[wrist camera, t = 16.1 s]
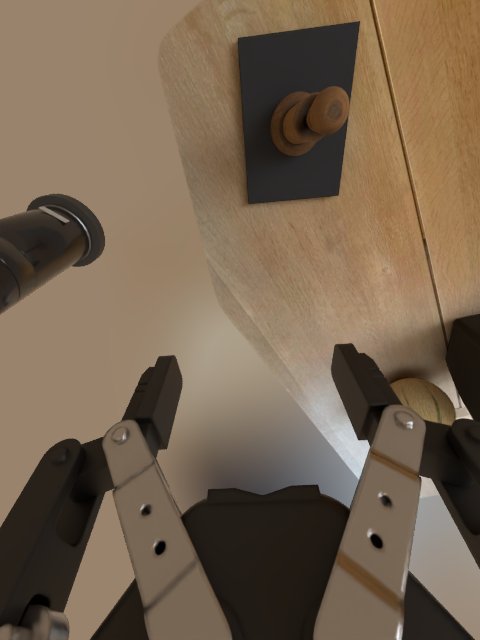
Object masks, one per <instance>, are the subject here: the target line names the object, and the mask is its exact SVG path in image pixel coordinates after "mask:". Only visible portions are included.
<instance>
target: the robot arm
mask: <svg viewBox="0 0 480 640" xmlns="http://www.w3.org/2000/svg"><path fill="white" fill-rule="evenodd" d="M91 249H92V236H91V233H90V231H89V229H88V227H87V225H86V224H85V223H84V221H83V220H82V219H81V218H80V217H79V216H78V215H77V214H75V213H74V212H73V211H71V210H69V209H68V208H65V207H63V206H60V205H53V204H50V205H45V206H41V207H39V208H37V209H34V210H30V211H27V212H23V213H20V214H16V215H13V216H9V217H6V218H3V219H0V314H2V313H4V312H5V311H7V310H8V309H9V308H11V307H12V306H14V305H15V304H17V303H18V302H20V301H21V300H23V299H24V298H26V297H27V296H29V295H30V294H31V293H33V292H34V291H35V290H37V289H39V288H40V287H41V286H43V285H44V284H46V283H47V282H49V281H50V280H52V279H53V278H54V277H56V276H57V275H59V274H60V273H62V272H63V271H65V270H66V269H68V268H69V267H71V266H72V265H74V264H75V263H77V262H78V261H80V260H82V259H84V258H85V257H86V256H88V254H89V253H90V252H91ZM331 373H332V378H333V380H334V383H335V385H336V388H337V390H338V393H339V395H340V397H341V400H342V402H343V405H344V407H345V409H346V412H347V414H348V417H349V419H350V421H351V424H352V426H353V429H354V431H355V433H356V436H357V438H358V440H368V442H369V445H370V449H369V452H368V455H367V458H366V461H365V464H364V467H363V470H362V473H361V476H360V479H359V482H358V485H357V488H356V491H355V494H354V497H353V500H352V503H351V505H350V508H348V507H347V506H345V505H344V504H342V503H341V502H339V501H338V500H336V499H334V498H332V497H330V496H327V495H324V494H321V493H320V491H319V487H318V485H300V486H299V485H298V486H289V487H286V488H283V489H281V490H277V491H275V492H272V493H269V494H266V495H259V494H255V493H251V492H247V491H244V490H240V489H236V488H229V489H209V490H208V497H207V498H206V499H203V500H201V501H200V502H197V503H196V504H194V505H193V506H191V507H190V508H189V509H188V510H187V511H186V512H185V513H184V514H182V512H181V510H180V507H179V505H178V504H177V502H176V499H175V498H174V495H173V493H172V491H171V489H170V487H169V485H168V483H167V481H166V479H165V476H164V474H163V472H162V470H161V468H160V466H159V464H158V462H157V459H156V457H157V453H158V450H161V449H167V447H168V442H169V438H170V434H171V430H172V426H173V422H174V418H175V414H176V410H177V406H178V402H179V398H180V394H181V390H182V375H181V372H180V369H179V366H178V362H177V359H176V357H175V356H174V355H171V356H159V357H158V359H157V362H156V364H155V367H149V368H148V369H147V370H146V371H145V372H144V373H143V374H142V376H141V378H140V381H139V382H138V386H137V387H136V389H135V393H134V394H133V396H132V398H131V400H130V403H129V405H128V407H127V409H126V412H125V414H124V416H123V418H122V420H121V422H118V423H116V424H115V425H114V426H112V427H111V428H110V429H109V430H108V431H107V433H106V434H105V436H104V437H101V438H99V439H96V440H93V441H90V442H87V443H84V444H80V442H79V441H78V440H76V439H66V440H63V441H61V442H59V443H57V444H55V445H54V446H53V447H51V448H50V449H49V450H48V451H47V452H46V454H44V456H43V457H42V459H41V461H40V462H39V464H38V466H37V467H36V469H35V471H34V473H33V474H32V476H31V477H30V479H29V481H28V483H27V484H26V486H25V487H24V489H23V491H22V492H21V494H20V496H19V498H18V499H17V501H16V502H15V504H14V506H13V507H12V509H11V511H10V512H9V514H8V516H7V518H6V519H5V521H4V522H3V524H2V526H1V527H0V640H68V638H69V622H68V619H67V617H66V616H65V614H63V612H64V609H65V606H66V604H67V601H68V598H69V595H70V592H71V589H72V586H73V583H74V581H75V578H76V574H77V572H78V569H79V566H80V563H81V561H82V558H83V555H84V552H85V549H86V546H87V543H88V540H89V538H90V535H91V532H92V529H93V526H94V523H95V520H96V517H97V514H98V511H99V509H100V506H101V503H102V500H103V497H104V494H105V492H107V491H109V490H112V489H114V488H115V489H114V490H113V498H114V502H115V506H116V509H117V513H118V516H119V520H120V524H121V527H122V531H123V534H124V538H125V542H126V545H127V549H128V552H129V556H130V559H131V563H132V567H133V570H134V574H135V577H136V578H135V579H134V580H133V582H132V583H131V584H130V586H129V587H128V588H127V590H126V591H125V593H124V594H123V595H122V597H121V598H120V599H119V601H118V602H117V603H116V605H115V606H114V608H113V609H112V610H111V612H110V613H109V614H108V616H107V617H106V618H105V620H104V621H103V623H102V624H101V625H100V627H99V628H98V629H97V631H96V632H95V633H94V635H93V636H92V637H91V639H90V640H475V639H474V638H473V637H472V636H471V635H470V634H469V633H468V632H467V631H466V630H465V629H464V628H463V627H462V626H461V624H460V623H459V622H458V621H457V620H455V618H454V617H453V616H452V615H451V614H450V613H449V612H448V611H447V610H446V609H445V608H444V607H443V606H442V605H441V604H440V603H439V602H438V600H436V598H435V597H434V596H433V595H432V594H431V593H430V592H429V591H428V590H427V589H426V588H425V587H424V586H423V585H422V584H421V583H420V582H419V581H418V579H417V578H416V577H415V576H414V575H413V574H412V573H411V572H410V571H409V570H408V569H409V563H410V555H411V549H412V543H413V536H414V530H415V523H416V517H417V510H418V503H419V497H420V490H421V477H419V475H420V476H423V477H427V478H431V479H432V481H433V483H434V484H435V486H436V488H437V490H438V492H439V494H440V496H441V497H442V499H443V501H444V503H445V505H446V507H447V509H448V511H449V512H450V514H451V516H452V518H453V520H454V522H455V524H456V525H457V527H458V529H459V531H460V533H461V535H462V537H463V539H464V540H465V542H466V544H467V546H468V548H469V550H470V552H471V554H472V555H473V557H474V559H475V561H476V563H477V565H478V567H479V569H480V422H478V421H475V420H472V419H467V418H460V419H457V420H455V421H454V422H453V423H452V425H446V424H441V423H437V422H432V421H428V420H424V419H422V417H421V416H420V415H419V414H418V413H417V412H415V411H414V410H412V409H410V408H408V407H406V406H403V404H402V403H401V401H400V400H399V398H398V397H397V395H396V394H395V392H394V391H393V389H392V387H391V386H390V384H389V383H388V381H387V380H386V378H384V375H383V374H382V372H381V371H380V370H379V368H378V366H377V365H376V363H375V361H374V360H373V359H371V358H370V357H369V356H368V355H366V354H365V353H358V352H357V350H356V348H355V347H354V345H353V344H352V343H349V344H336V345H335V347H334V353H333V359H332V365H331Z"/></svg>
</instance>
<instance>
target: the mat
mask: <svg viewBox="0 0 480 640" xmlns="http://www.w3.org/2000/svg"><path fill="white" fill-rule="evenodd" d="M359 25H360V21H359V22H352V23H344V24H337V25H330V26H323V27H315V28H308V29H301V30H293V31H286V32H279V33H271V34H264V35H257V36H249V37H242V38H238V47H239V63H240V78H241V94H242V109H243V125H244V140H245V156H246V171H247V187H248V202H249V204H254V203H264V202H275V201H285V200H296V199H306V198H317V197H327V196H338V195H339V187H340V179H341V171H342V163H343V155H344V147H345V139H346V131H347V123H348V117H347V119H346V121H345V123H344V124H343V126H342V127H341V128H340V129H339V130H338V131H336V132H335V133H333V134H330V135H325V136H324V137H323V138H322V139H320V140H318V141H317V142H316V143H315V145H314V146H313V147H312V148H311V149H310V150H309V151H308V152H306V153H304V154H302V155H298V156H289V155H286V154H284V153H282V152H280V151H279V150H278V149H277V147H276V146H275V144H274V142H273V140H272V137H271V120H272V116H273V113H274V111H275V109H276V107H277V106H278V104H279V103H280V102H281V101H282V100H283V99H284V98H285V97H286V96H288V95H289V94H291V93H294V92H299V91H302V92H307V93H309V94H312V93H316V92H318V93H320V92H321V91H322V90H324V89H326V88H328V87H331V86H337V87H340V88H342V89H343V90H344V91H345V92H346V93H347V95H348V98H349V104H350V98H351V90H352V82H353V74H354V66H355V58H356V49H357V41H358V33H359ZM348 114H349V113H348Z"/></svg>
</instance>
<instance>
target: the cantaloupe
mask: <svg viewBox="0 0 480 640" xmlns="http://www.w3.org/2000/svg"><path fill="white" fill-rule="evenodd" d="M390 386H391V387H392V389H393V391H394V392H395V394H396V395H397V397H398V398H399V400H400V401H401V403H402V404H403V406H406V407H408V408H410V409H412V410H414V411H415V412H417V413H418V414H419V415H420V416H421V417H422V419H424V420H428V421H432V422H437V423H441V424H446V425H452V423H453V422H454V421H455V420H456V411H455V408H454V406H453V403H452V402H451V400H450V398H449V397H448V396H447V395H446V393H445V392H443V391H442V390H441V389H440V388H439V387H437V386H436V385H434V384H433V383H430V382H428V381H426V380H423V379H418V378H405V379H401V380H398V381H395V382H393V383H391V384H390Z"/></svg>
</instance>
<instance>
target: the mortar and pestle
mask: <svg viewBox="0 0 480 640" xmlns="http://www.w3.org/2000/svg"><path fill="white" fill-rule="evenodd" d="M349 107H350V104H349V98H348V95H347V93H346V92H345V91H344V90H343V89H342V88H340V87H337V86H331V87H328V88H326V89H324V90H322V91H321V92H320V93H318V92H316V93H312V94H309V93H307V92H302V91H299V92H294V93H291V94H289V95H288V96H286V97H285V98H284V99H283V100H282V101H281V102H280V103H279V104H278V106H277V107H276V109H275V111H274V113H273V116H272V120H271V137H272V140H273V142H274V144H275V146H276V147H277V149H278V150H279V151H280V152H282V153H284V154H286V155H289V156H298V155H302V154H304V153H306V152H308V151H309V150H310V149H311V148H312V147H313V146H314V145H315V143H316V142H317V141H318V140H320V139H322V138H323V137H324V136H325V135H330V134H333V133H335V132H336V131H338V130H339V129H340V128H341V127H342V126H343V124H344V123H345V121H346V119H347V117H348V113H349Z"/></svg>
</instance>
